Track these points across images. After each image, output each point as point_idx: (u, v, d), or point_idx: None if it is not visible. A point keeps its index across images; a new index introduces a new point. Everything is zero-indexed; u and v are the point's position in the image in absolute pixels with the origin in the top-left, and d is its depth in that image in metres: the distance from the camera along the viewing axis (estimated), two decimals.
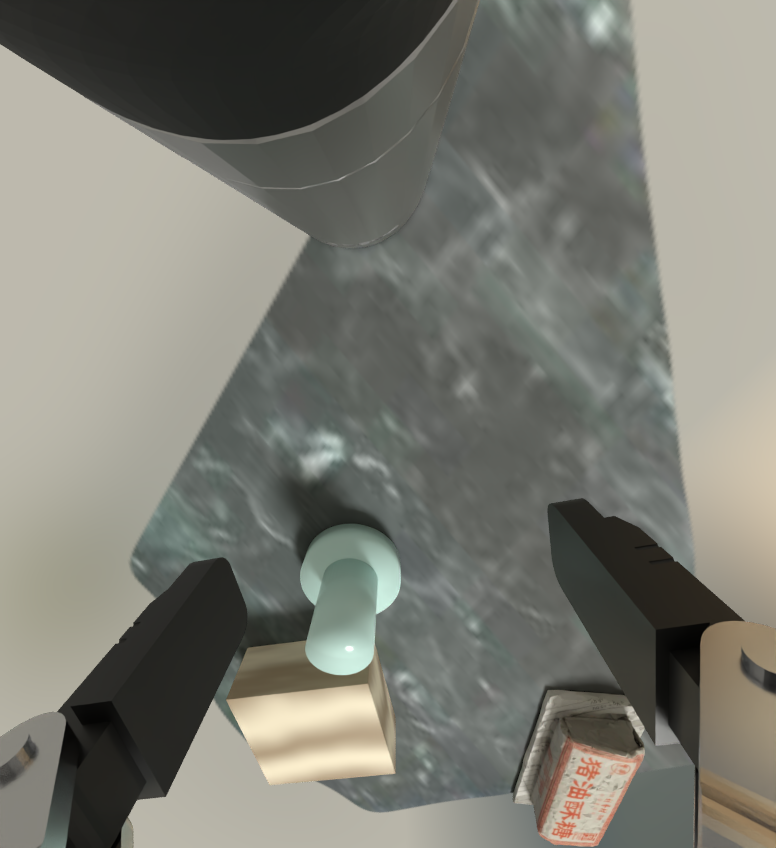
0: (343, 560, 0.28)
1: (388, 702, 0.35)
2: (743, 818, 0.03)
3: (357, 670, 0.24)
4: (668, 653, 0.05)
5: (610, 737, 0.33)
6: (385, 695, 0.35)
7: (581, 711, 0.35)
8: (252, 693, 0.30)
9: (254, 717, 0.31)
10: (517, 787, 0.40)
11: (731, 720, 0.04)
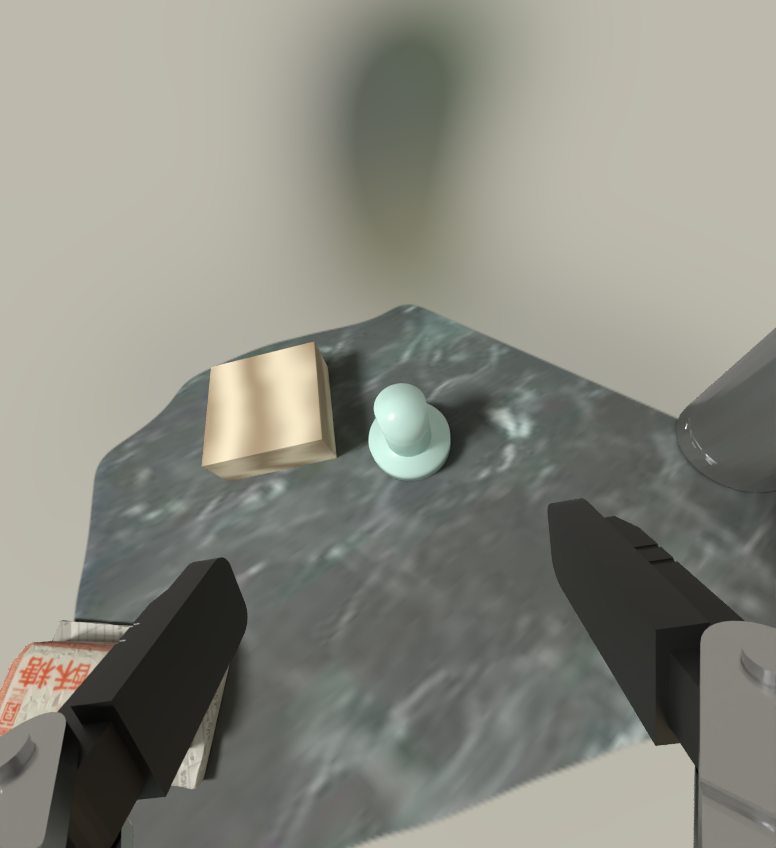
0: (430, 430, 0.35)
1: (257, 471, 0.38)
2: (743, 818, 0.03)
3: (378, 418, 0.30)
4: (668, 653, 0.05)
5: None
6: (269, 467, 0.37)
7: None
8: (316, 358, 0.39)
9: (292, 358, 0.39)
10: (84, 622, 0.34)
11: (731, 720, 0.04)
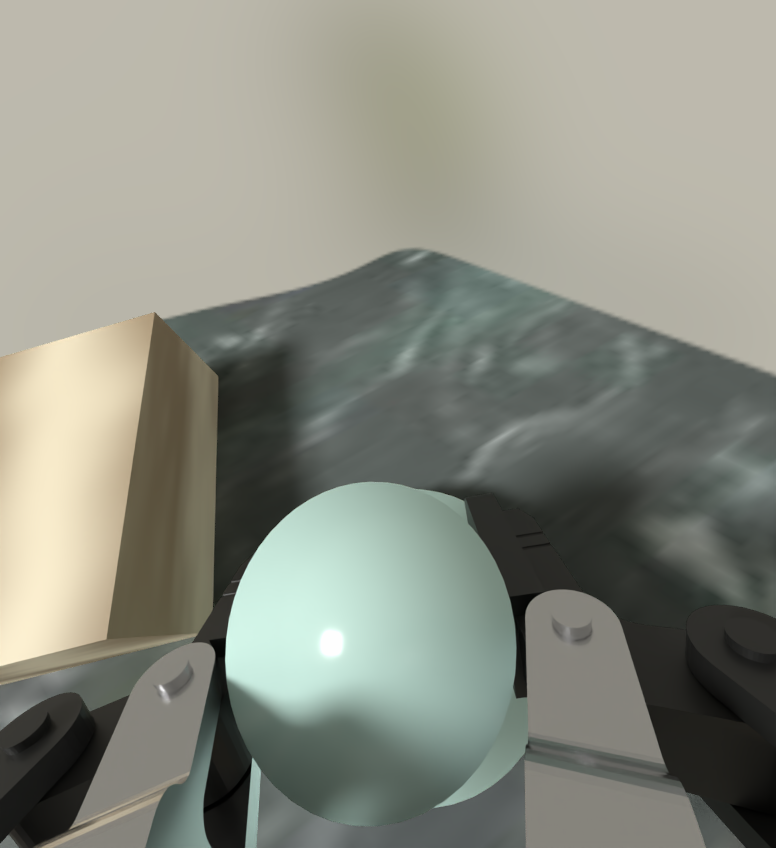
0: None
1: None
2: (553, 761, 0.03)
3: (239, 697, 0.05)
4: (514, 618, 0.06)
5: None
6: (7, 680, 0.13)
7: None
8: (153, 356, 0.14)
9: (91, 357, 0.14)
10: None
11: (547, 677, 0.04)
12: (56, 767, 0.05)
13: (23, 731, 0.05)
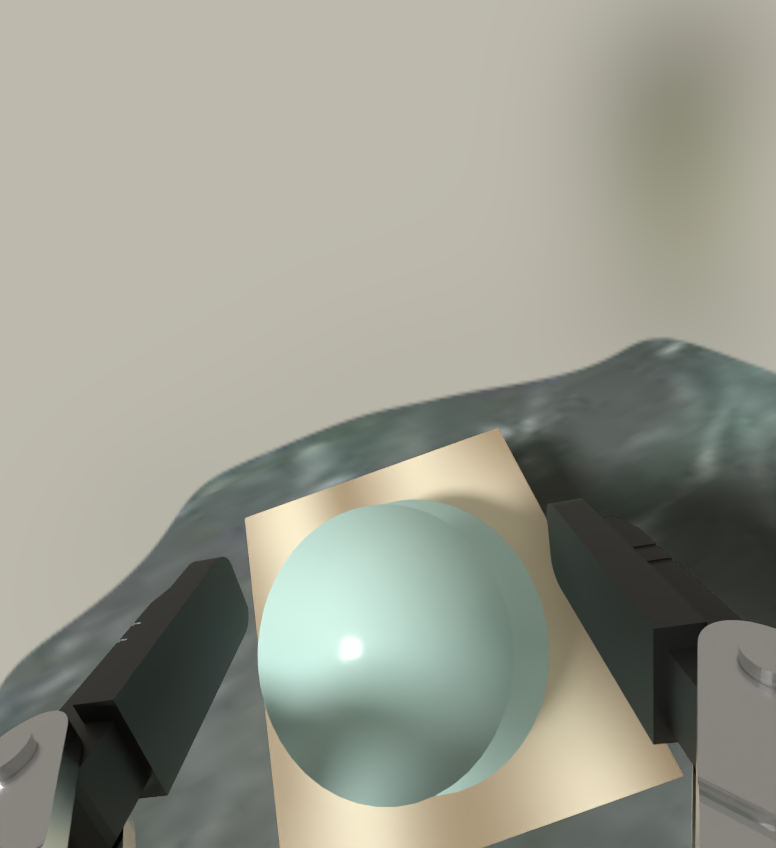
0: None
1: None
2: (740, 817, 0.03)
3: (272, 698, 0.06)
4: (666, 652, 0.05)
5: None
6: None
7: None
8: (520, 473, 0.15)
9: (458, 479, 0.15)
10: None
11: (728, 719, 0.04)
12: None
13: None
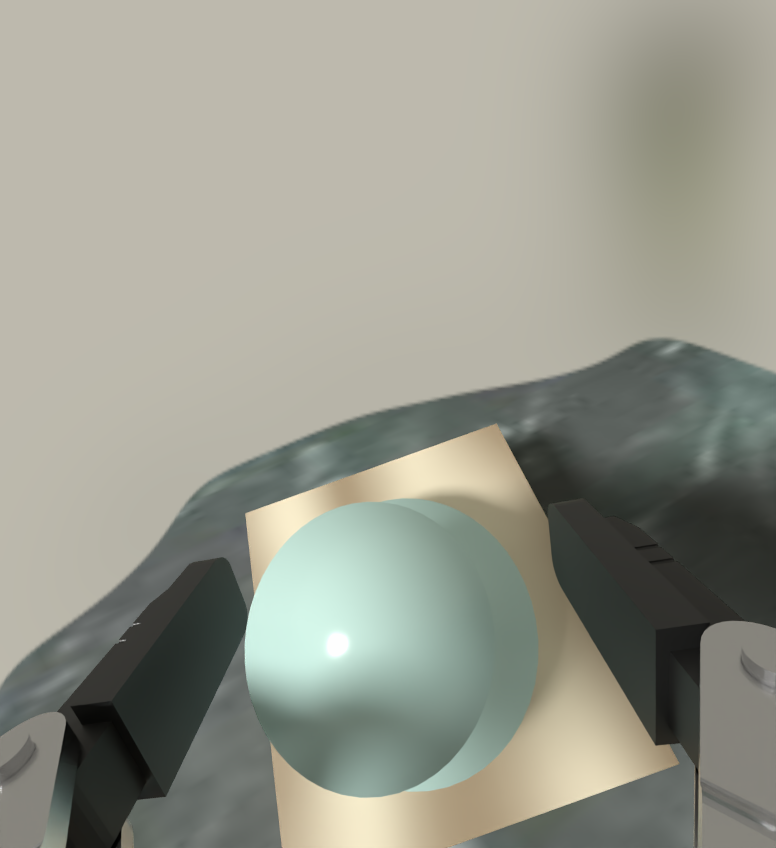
0: None
1: None
2: (744, 818, 0.03)
3: (258, 694, 0.06)
4: (668, 653, 0.05)
5: None
6: None
7: None
8: (518, 468, 0.16)
9: (457, 474, 0.16)
10: None
11: (731, 720, 0.04)
12: None
13: None
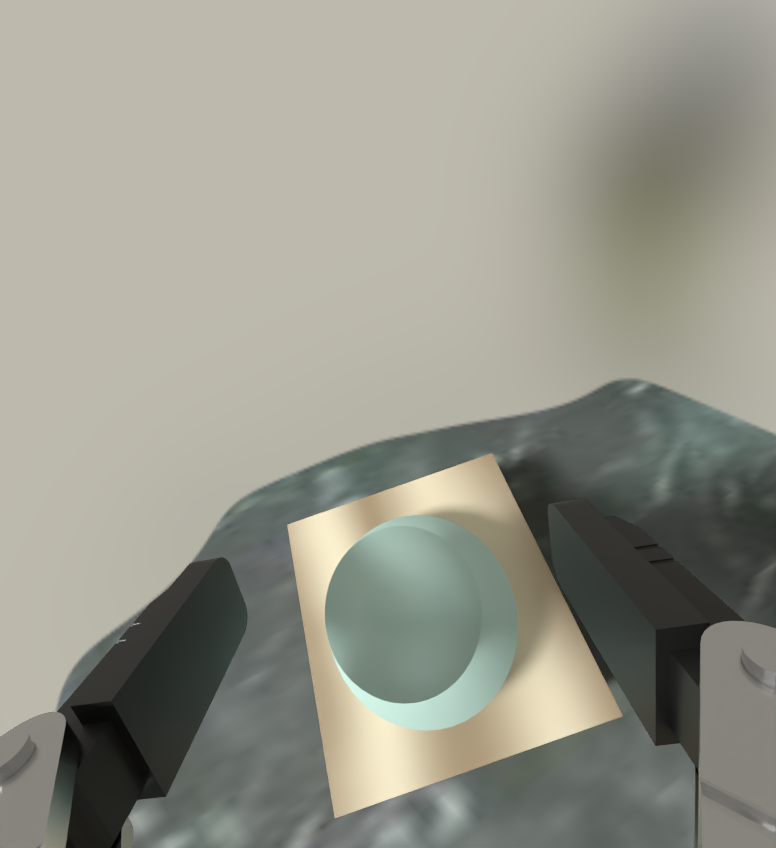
0: None
1: None
2: (743, 818, 0.03)
3: (336, 648, 0.10)
4: (668, 653, 0.05)
5: None
6: None
7: None
8: (509, 491, 0.19)
9: (460, 494, 0.19)
10: None
11: (731, 720, 0.04)
12: None
13: None
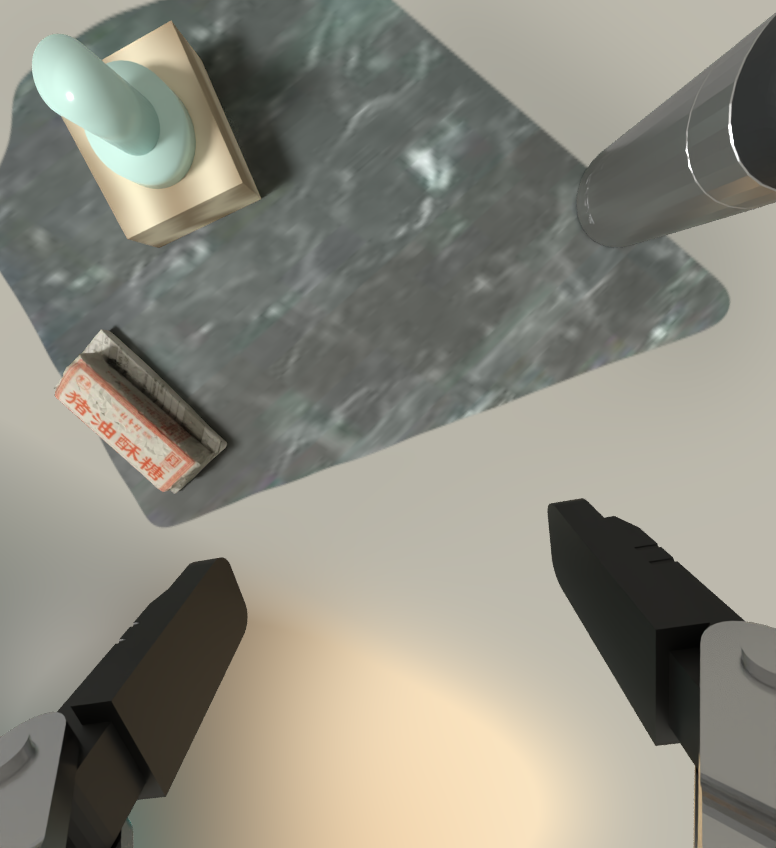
0: (155, 111, 0.29)
1: (185, 231, 0.36)
2: (743, 818, 0.03)
3: (48, 102, 0.24)
4: (668, 653, 0.05)
5: None
6: (196, 224, 0.36)
7: None
8: (187, 55, 0.29)
9: (154, 59, 0.29)
10: None
11: (731, 720, 0.04)
12: None
13: None
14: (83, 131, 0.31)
